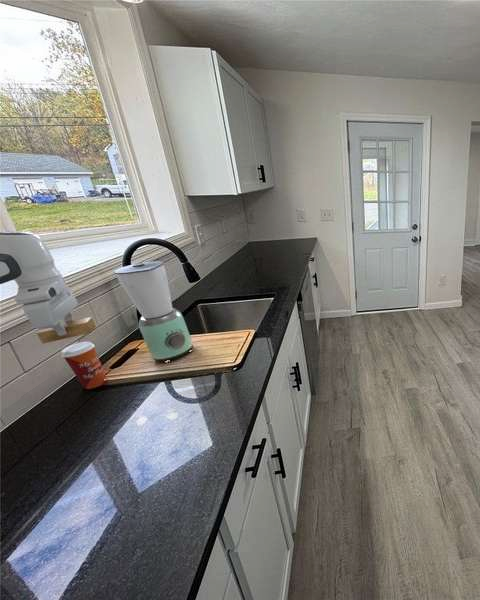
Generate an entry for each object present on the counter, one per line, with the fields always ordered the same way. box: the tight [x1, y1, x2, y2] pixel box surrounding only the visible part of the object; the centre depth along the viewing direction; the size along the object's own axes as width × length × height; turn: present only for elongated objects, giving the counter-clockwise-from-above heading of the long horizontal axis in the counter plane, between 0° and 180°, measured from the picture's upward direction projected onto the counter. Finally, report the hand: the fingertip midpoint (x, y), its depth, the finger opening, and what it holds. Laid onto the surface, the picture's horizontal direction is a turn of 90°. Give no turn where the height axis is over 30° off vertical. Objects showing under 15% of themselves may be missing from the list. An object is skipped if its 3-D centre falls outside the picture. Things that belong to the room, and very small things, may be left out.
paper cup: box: [60, 341, 108, 390], centre depth 100 cm, size 8×8×14 cm
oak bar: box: [36, 316, 97, 345], centre depth 95 cm, size 11×5×4 cm, turn 120°
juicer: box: [113, 260, 194, 363], centre depth 111 cm, size 19×13×35 cm
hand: (67, 330), depth 95 cm, fingers closed on oak bar, 5 cm apart
